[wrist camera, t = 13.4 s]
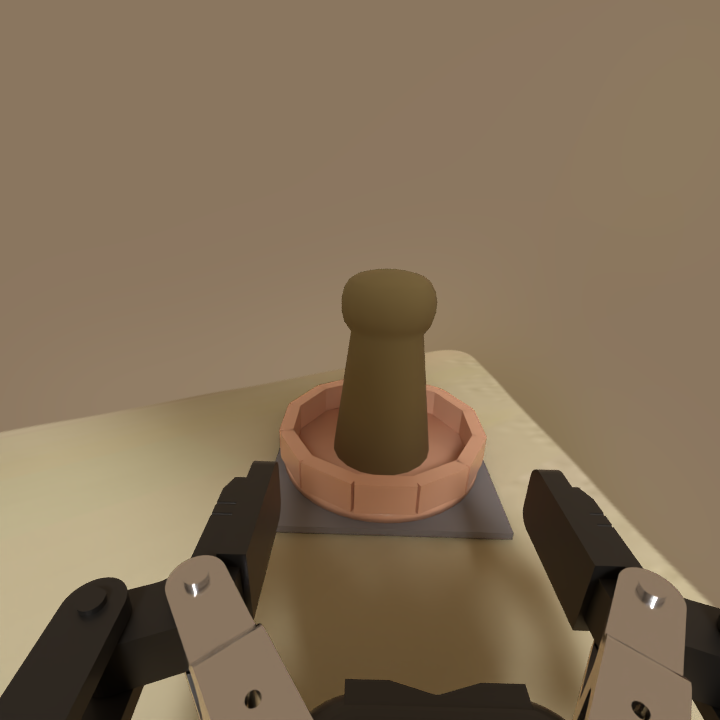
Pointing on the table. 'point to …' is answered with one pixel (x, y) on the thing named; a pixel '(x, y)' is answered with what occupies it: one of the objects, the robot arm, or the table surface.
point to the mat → (464, 520)
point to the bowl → (381, 492)
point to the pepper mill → (385, 372)
